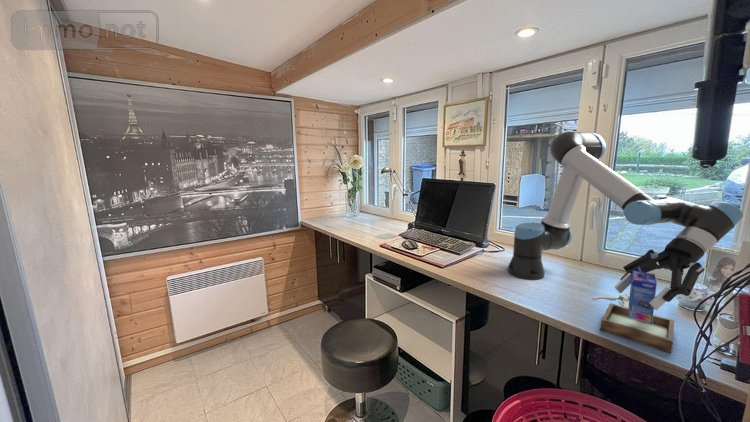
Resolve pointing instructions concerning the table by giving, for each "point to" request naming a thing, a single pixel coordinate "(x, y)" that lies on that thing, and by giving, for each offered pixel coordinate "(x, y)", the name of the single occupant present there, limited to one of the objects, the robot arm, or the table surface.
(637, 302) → the ink cartridge box
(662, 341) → the wooden tray
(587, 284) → the table surface
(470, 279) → the table surface
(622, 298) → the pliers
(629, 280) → the robot arm
